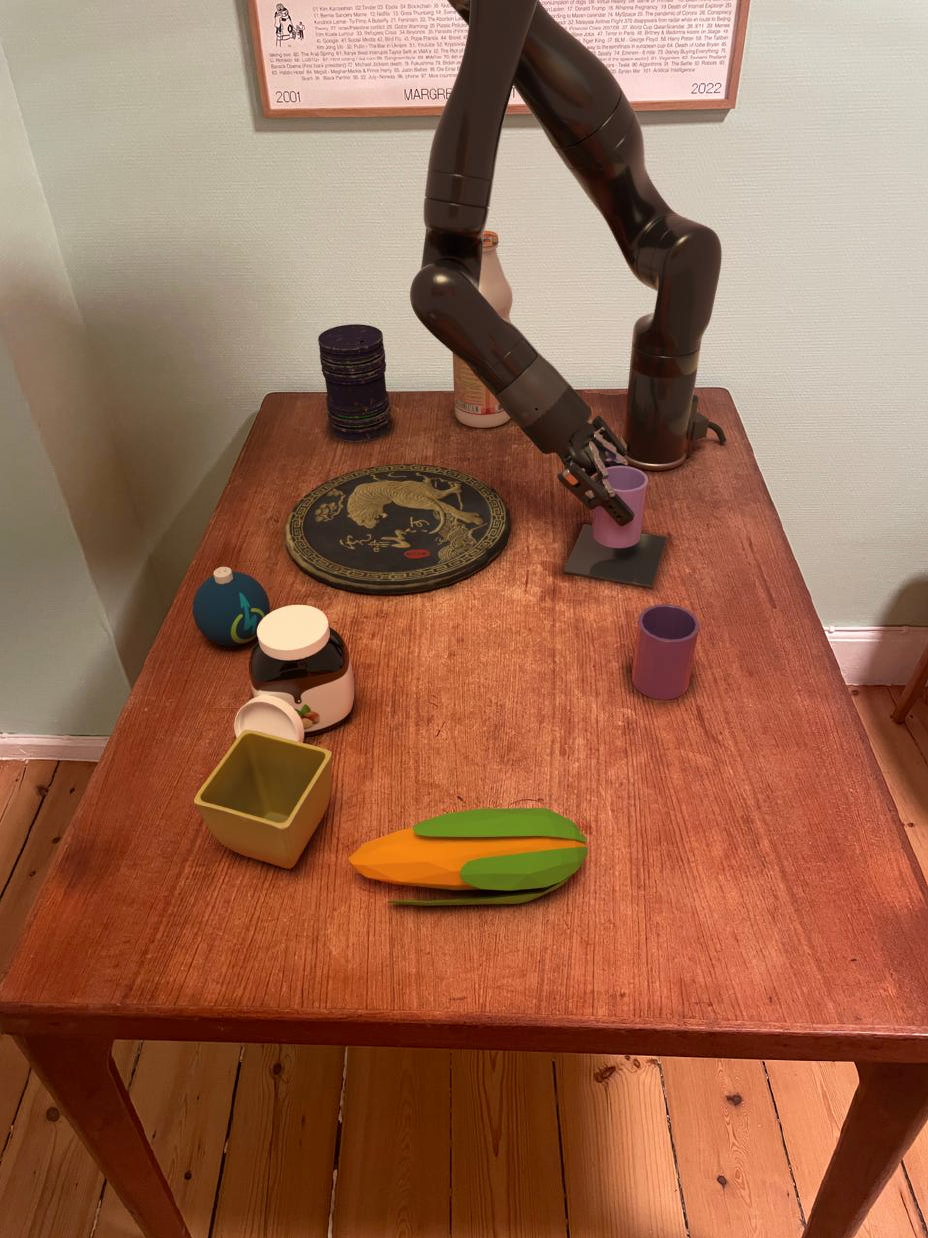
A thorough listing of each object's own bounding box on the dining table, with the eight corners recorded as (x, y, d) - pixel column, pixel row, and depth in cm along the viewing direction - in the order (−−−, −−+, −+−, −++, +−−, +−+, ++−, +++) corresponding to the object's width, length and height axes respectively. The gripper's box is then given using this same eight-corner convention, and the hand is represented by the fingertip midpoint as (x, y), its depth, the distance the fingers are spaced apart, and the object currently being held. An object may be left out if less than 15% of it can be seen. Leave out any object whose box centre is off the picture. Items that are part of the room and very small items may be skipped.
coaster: (583, 526, 119) (583, 523, 118) (667, 539, 116) (667, 537, 115) (563, 573, 111) (563, 570, 110) (652, 589, 108) (652, 586, 107)
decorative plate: (503, 589, 105) (256, 579, 108) (503, 602, 106) (258, 592, 109) (516, 464, 129) (312, 459, 131) (516, 476, 130) (313, 471, 132)
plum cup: (666, 655, 98) (675, 597, 93) (700, 688, 94) (711, 630, 89) (620, 672, 96) (627, 614, 91) (653, 707, 92) (661, 648, 87)
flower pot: (346, 815, 82) (334, 749, 77) (302, 894, 76) (286, 828, 70) (261, 793, 85) (244, 727, 79) (213, 867, 78) (190, 801, 73)
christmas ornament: (205, 668, 99) (185, 597, 93) (197, 623, 105) (178, 554, 99) (281, 651, 101) (265, 579, 94) (269, 607, 107) (254, 538, 101)
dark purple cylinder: (317, 427, 143) (304, 336, 133) (365, 407, 148) (356, 318, 138) (355, 448, 137) (343, 355, 128) (404, 427, 142) (397, 335, 133)
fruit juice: (455, 430, 141) (448, 246, 123) (454, 403, 148) (447, 226, 130) (514, 428, 141) (516, 243, 123) (511, 401, 148) (512, 223, 130)
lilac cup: (623, 516, 114) (629, 461, 109) (650, 540, 110) (658, 483, 105) (583, 528, 112) (587, 472, 107) (609, 553, 108) (615, 496, 103)
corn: (598, 851, 69) (340, 869, 69) (593, 913, 74) (350, 930, 73) (582, 782, 75) (344, 798, 75) (578, 843, 80) (354, 859, 79)
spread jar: (354, 680, 97) (342, 595, 89) (363, 758, 88) (350, 670, 81) (242, 696, 95) (220, 611, 88) (240, 776, 87) (215, 689, 79)
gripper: (549, 412, 96) (648, 523, 100) (580, 360, 106) (668, 463, 111) (502, 449, 101) (598, 554, 105) (536, 396, 111) (622, 493, 115)
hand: (633, 507), depth 108 cm, fingers closed on lilac cup, 6 cm apart
